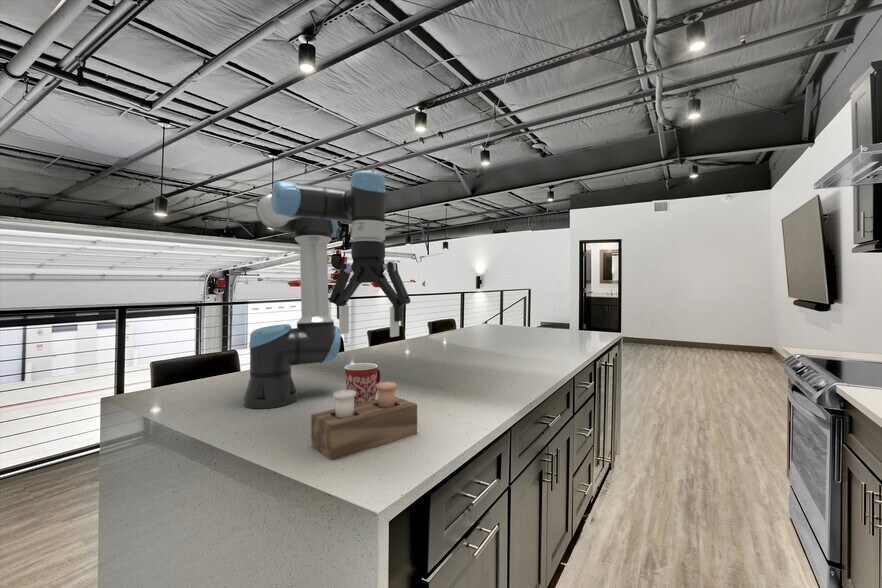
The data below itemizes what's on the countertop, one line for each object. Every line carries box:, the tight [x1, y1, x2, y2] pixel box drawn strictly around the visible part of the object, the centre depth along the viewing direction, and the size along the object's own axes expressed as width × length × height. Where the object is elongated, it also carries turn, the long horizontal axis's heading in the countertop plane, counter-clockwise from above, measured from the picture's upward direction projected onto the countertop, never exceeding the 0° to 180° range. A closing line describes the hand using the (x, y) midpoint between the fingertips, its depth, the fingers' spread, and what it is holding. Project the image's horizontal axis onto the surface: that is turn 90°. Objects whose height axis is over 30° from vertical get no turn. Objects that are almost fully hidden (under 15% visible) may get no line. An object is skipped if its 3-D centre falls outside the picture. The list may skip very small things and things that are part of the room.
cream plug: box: [333, 389, 356, 419], centre depth 86 cm, size 5×5×7 cm
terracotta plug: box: [376, 381, 397, 409], centre depth 94 cm, size 5×5×7 cm
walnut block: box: [310, 396, 418, 461], centre depth 90 cm, size 10×22×7 cm, turn 132°
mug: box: [344, 362, 381, 405], centre depth 109 cm, size 13×9×14 cm
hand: (368, 335), depth 89 cm, fingers open, 13 cm apart
